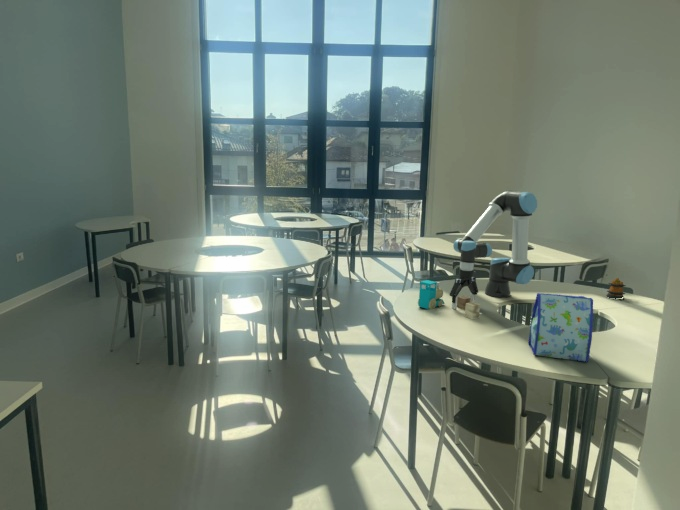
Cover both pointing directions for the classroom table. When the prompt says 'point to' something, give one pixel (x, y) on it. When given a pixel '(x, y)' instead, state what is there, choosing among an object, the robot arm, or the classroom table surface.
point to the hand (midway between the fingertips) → (462, 307)
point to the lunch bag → (562, 326)
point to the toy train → (430, 295)
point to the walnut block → (462, 301)
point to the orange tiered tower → (616, 289)
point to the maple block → (472, 310)
